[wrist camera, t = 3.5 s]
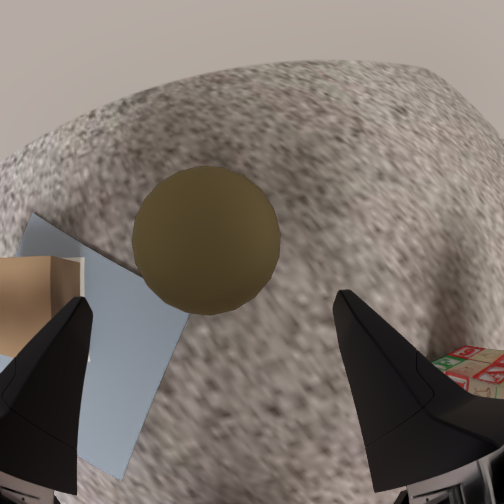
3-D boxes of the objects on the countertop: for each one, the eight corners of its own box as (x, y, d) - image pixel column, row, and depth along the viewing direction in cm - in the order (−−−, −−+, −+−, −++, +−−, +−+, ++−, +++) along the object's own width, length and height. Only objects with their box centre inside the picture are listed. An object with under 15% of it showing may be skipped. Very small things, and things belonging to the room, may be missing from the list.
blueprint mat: (122, 479, 15) (121, 481, 15) (-9, 379, 15) (-11, 380, 15) (194, 303, 18) (193, 304, 18) (34, 213, 18) (32, 212, 18)
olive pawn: (275, 289, 19) (334, 285, 8) (192, 322, 18) (146, 361, 7) (241, 209, 19) (256, 117, 9) (161, 241, 19) (89, 182, 8)
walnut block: (84, 356, 17) (57, 367, 13) (23, 346, 16) (-6, 352, 12) (80, 262, 18) (50, 255, 14) (19, 264, 17) (-11, 258, 13)
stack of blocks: (439, 492, 17) (493, 531, 5) (399, 514, 16) (449, 565, 4) (465, 343, 20) (563, 354, 8) (422, 363, 19) (532, 392, 7)
